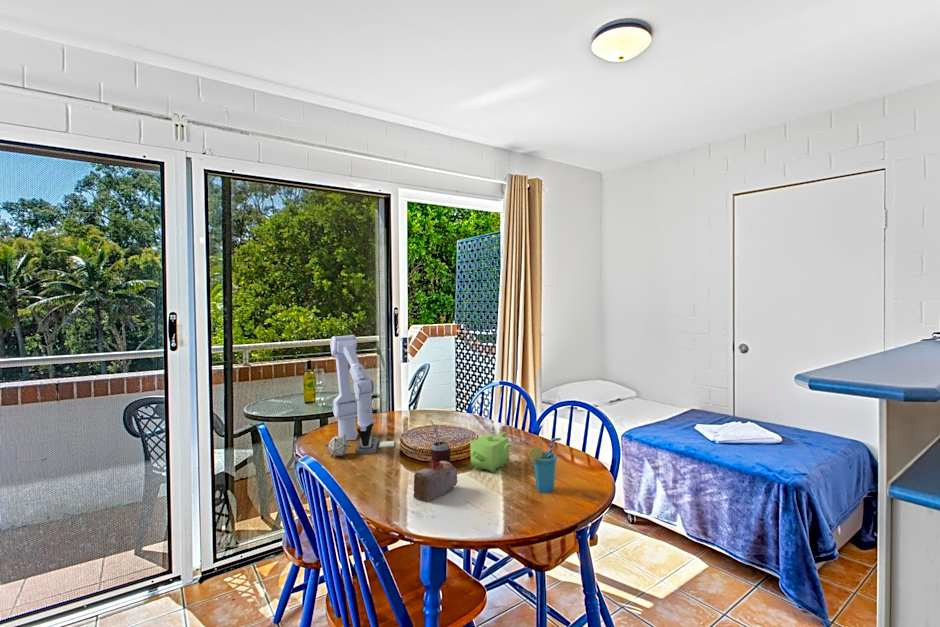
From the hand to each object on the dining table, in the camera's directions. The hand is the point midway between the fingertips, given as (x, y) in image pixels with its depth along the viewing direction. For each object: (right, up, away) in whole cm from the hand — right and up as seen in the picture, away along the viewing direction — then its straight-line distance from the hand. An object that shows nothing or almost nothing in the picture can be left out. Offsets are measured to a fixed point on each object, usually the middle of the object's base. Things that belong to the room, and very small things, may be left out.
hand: (366, 443), depth 194 cm
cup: (+65, -3, -41) cm, 77 cm away
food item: (+30, -4, -42) cm, 52 cm away
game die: (-9, -4, -5) cm, 11 cm away
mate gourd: (+30, -3, -18) cm, 35 cm away
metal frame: (0, -2, +4) cm, 4 cm away
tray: (+7, -2, +6) cm, 10 cm away
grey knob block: (0, -3, 0) cm, 3 cm away
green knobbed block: (+49, -3, -22) cm, 53 cm away
